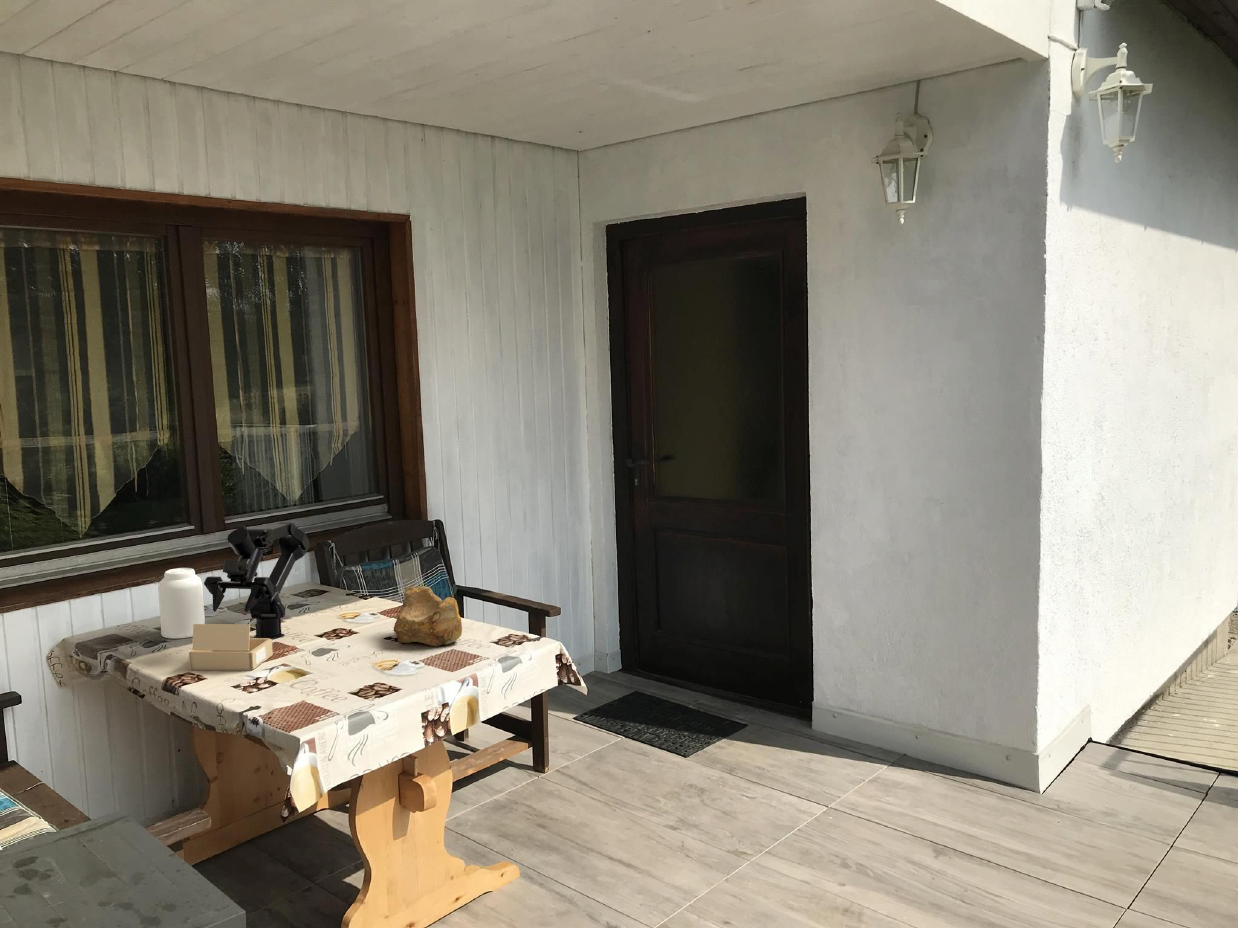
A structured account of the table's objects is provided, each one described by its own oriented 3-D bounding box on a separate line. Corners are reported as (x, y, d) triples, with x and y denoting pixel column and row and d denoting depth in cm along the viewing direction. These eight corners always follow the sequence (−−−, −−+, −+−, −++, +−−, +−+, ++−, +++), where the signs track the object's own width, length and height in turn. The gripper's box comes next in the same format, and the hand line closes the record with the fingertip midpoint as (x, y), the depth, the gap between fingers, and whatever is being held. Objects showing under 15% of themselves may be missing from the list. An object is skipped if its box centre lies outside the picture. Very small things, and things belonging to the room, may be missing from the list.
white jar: (174, 641, 295) (170, 576, 293) (153, 634, 303) (148, 571, 301) (213, 632, 305) (209, 568, 303) (191, 625, 313) (187, 563, 310)
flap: (192, 649, 269) (193, 623, 269) (249, 650, 267) (250, 624, 268) (192, 649, 268) (193, 623, 269) (248, 650, 267) (249, 624, 268)
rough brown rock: (377, 641, 296) (372, 594, 293) (423, 625, 307) (419, 580, 304) (421, 660, 280) (417, 610, 277) (468, 642, 291) (464, 595, 288)
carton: (212, 654, 282) (211, 637, 282) (274, 655, 281) (273, 638, 280) (189, 669, 269) (188, 651, 268) (253, 670, 268) (252, 652, 267)
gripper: (205, 548, 280) (186, 594, 270) (268, 548, 278) (251, 595, 268) (220, 570, 289) (202, 616, 279) (281, 571, 287) (265, 617, 277)
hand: (229, 611), depth 275 cm, fingers open, 9 cm apart
